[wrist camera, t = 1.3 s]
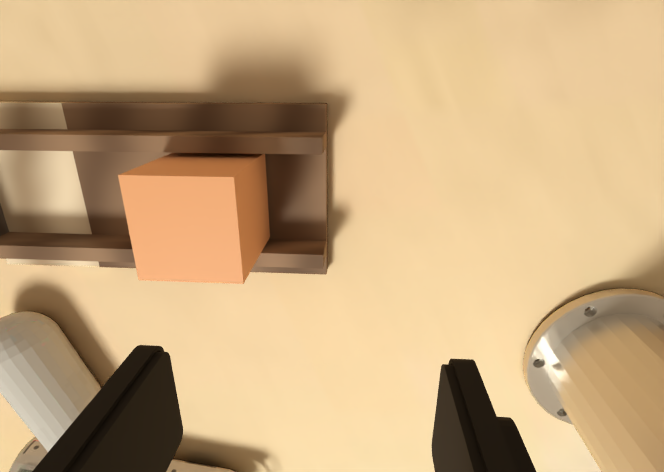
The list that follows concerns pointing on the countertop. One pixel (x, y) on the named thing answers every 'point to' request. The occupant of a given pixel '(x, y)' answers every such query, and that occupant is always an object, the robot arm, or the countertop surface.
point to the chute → (143, 147)
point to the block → (197, 216)
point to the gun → (49, 386)
